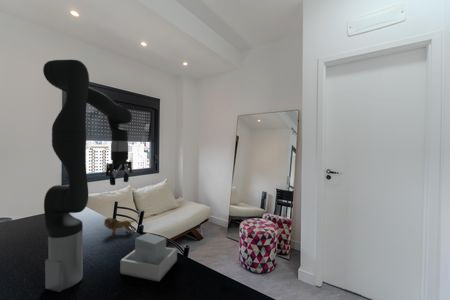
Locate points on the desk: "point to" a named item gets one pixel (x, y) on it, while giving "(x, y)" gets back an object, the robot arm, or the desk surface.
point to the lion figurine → (117, 225)
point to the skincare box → (150, 249)
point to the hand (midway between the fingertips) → (119, 183)
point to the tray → (148, 266)
